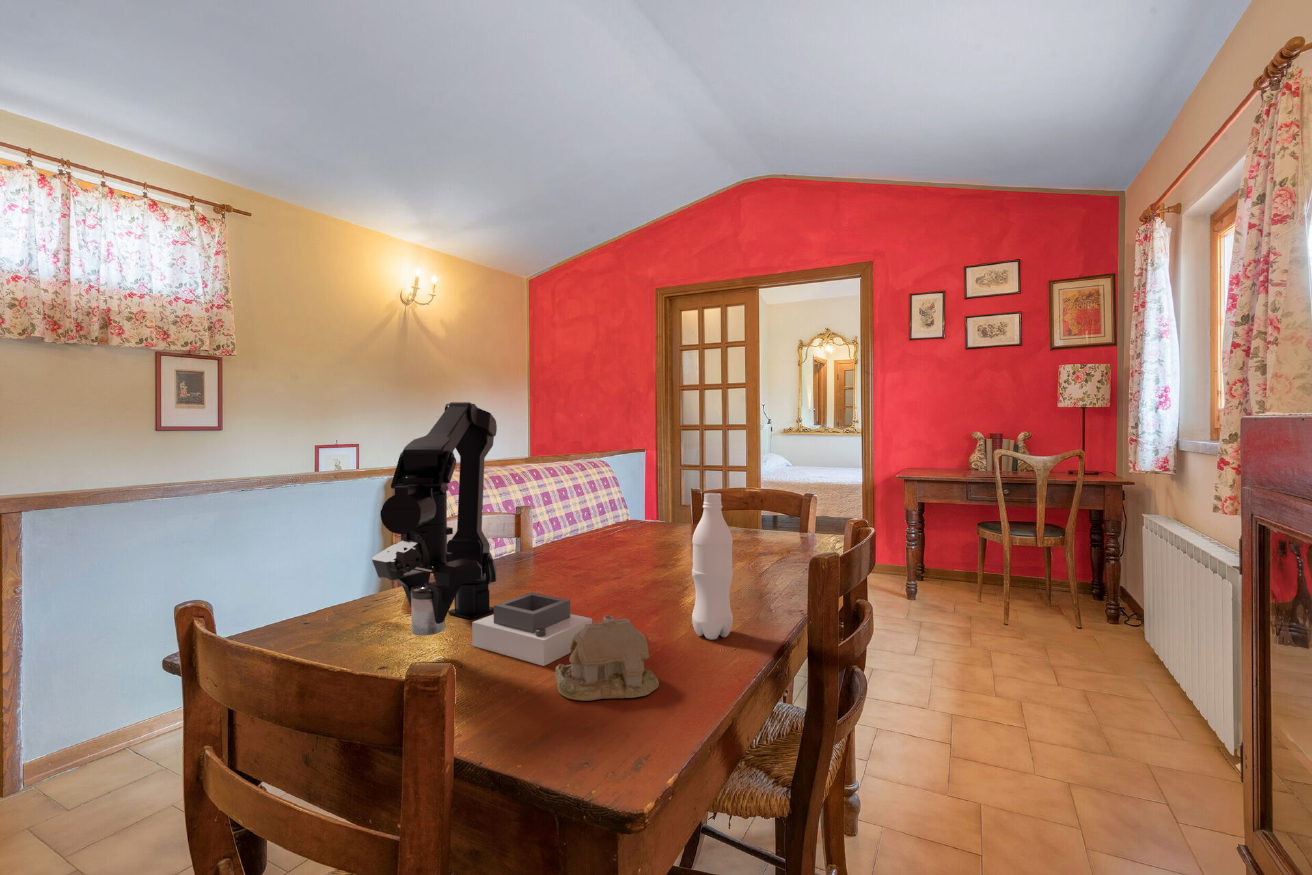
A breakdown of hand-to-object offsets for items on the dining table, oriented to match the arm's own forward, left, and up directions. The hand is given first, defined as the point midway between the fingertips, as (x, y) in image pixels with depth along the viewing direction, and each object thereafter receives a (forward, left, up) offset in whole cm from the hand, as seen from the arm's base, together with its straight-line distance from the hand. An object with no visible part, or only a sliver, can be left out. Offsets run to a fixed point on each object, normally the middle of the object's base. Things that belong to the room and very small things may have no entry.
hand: (428, 620), depth 94 cm
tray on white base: (+10, +13, -6) cm, 18 cm away
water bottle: (+34, +33, -6) cm, 48 cm away
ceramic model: (+30, +7, -6) cm, 32 cm away
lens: (0, 0, -2) cm, 2 cm away
